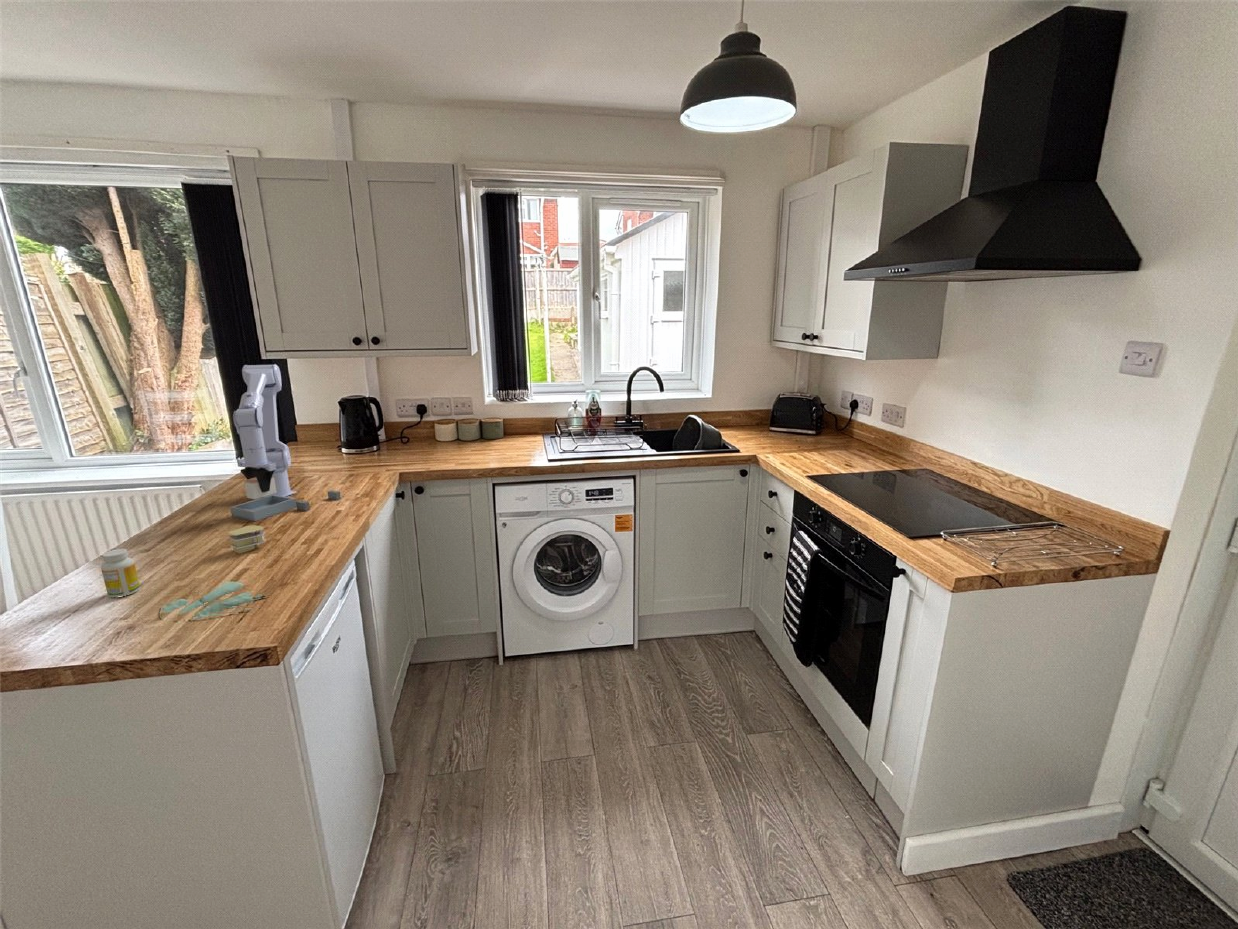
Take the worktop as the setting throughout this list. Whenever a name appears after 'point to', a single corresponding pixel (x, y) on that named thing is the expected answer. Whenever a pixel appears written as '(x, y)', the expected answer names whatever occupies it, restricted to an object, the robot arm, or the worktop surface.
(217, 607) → the pale green flat pieces
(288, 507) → the tray
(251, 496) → the pink and gray block
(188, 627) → the worktop surface
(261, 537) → the beige layered stack
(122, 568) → the supplement bottle
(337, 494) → the grey blocks
